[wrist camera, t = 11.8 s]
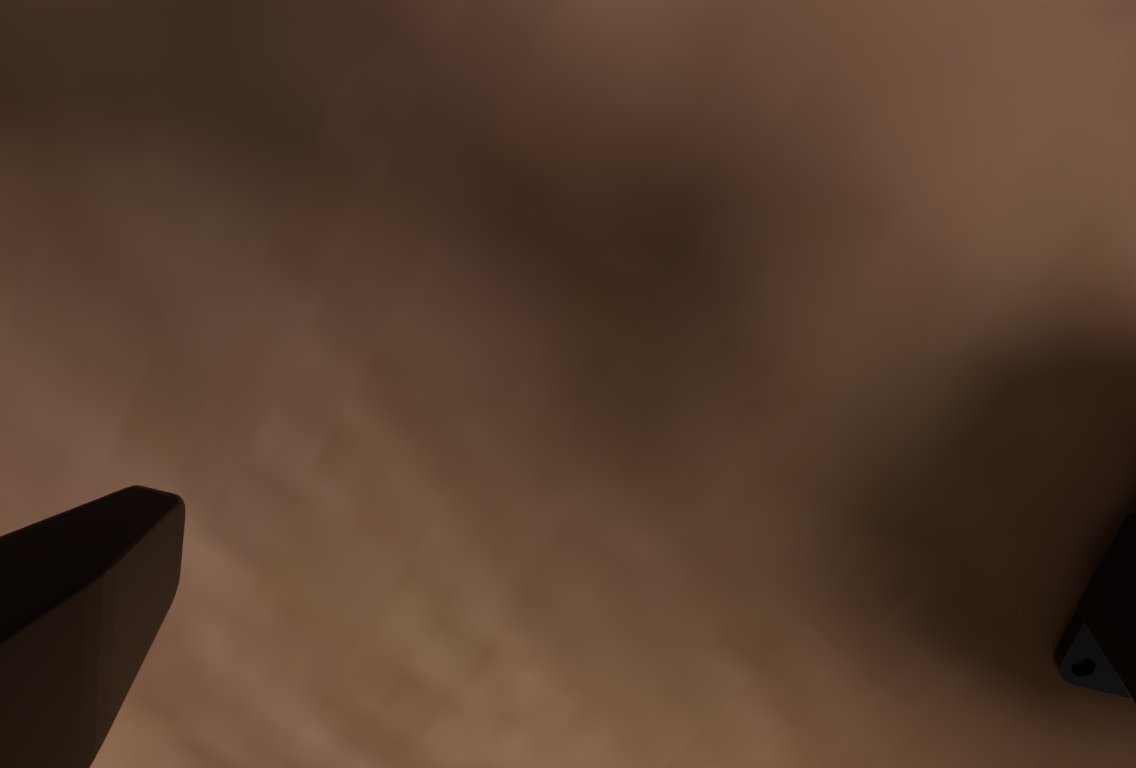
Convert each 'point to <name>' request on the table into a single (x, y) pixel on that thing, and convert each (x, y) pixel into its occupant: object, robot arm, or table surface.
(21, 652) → the robot arm
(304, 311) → the table surface
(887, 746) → the table surface
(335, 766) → the table surface
